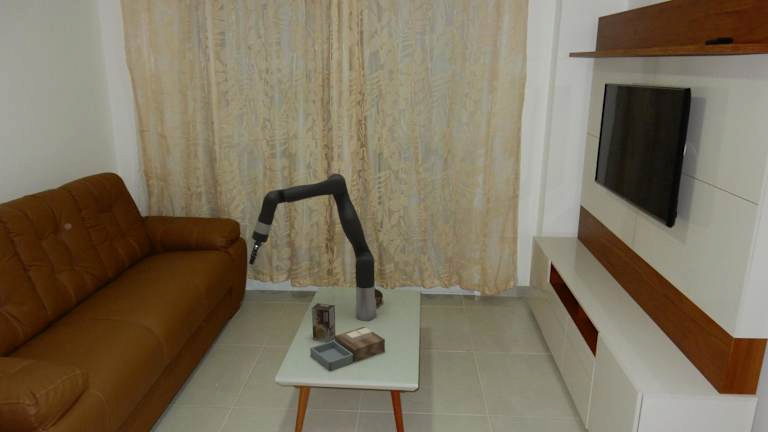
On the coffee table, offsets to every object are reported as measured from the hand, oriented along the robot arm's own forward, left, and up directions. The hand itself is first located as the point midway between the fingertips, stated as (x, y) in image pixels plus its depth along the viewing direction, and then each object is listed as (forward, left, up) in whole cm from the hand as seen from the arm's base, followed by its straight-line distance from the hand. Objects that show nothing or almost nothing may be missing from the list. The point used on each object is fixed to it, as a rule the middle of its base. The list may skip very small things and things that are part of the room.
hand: (252, 261), depth 276 cm
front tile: (-21, +58, -25) cm, 66 cm away
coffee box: (-17, +39, -31) cm, 52 cm away
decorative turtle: (-60, +19, -31) cm, 70 cm away
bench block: (-24, +58, -31) cm, 69 cm away
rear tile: (-26, +58, -25) cm, 68 cm away
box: (-9, +58, -31) cm, 66 cm away
